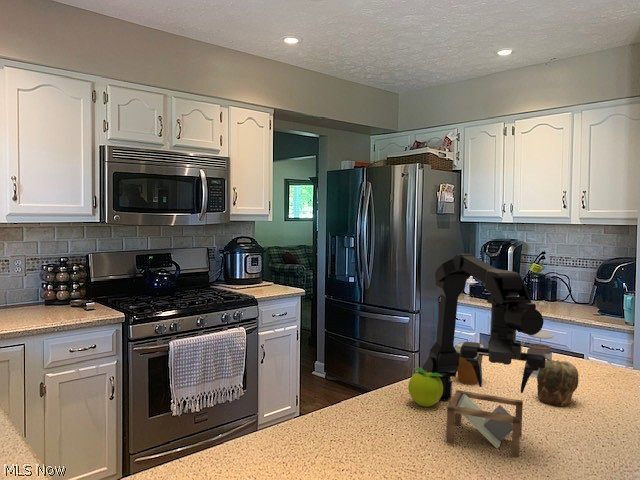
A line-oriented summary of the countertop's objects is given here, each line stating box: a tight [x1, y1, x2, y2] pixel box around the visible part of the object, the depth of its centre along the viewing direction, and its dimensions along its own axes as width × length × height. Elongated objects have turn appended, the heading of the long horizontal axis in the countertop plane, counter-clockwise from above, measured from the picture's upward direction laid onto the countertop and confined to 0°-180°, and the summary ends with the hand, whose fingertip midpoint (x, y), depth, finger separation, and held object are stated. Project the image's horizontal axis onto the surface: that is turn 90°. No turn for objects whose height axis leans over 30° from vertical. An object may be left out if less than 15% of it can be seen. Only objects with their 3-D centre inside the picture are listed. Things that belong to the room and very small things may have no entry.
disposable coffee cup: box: [454, 341, 485, 385], centre depth 163 cm, size 10×10×12 cm
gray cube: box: [483, 404, 513, 442], centre depth 120 cm, size 5×5×5 cm
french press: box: [520, 301, 554, 379], centre depth 172 cm, size 10×12×25 cm
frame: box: [445, 389, 524, 458], centre depth 121 cm, size 16×13×8 cm
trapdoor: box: [457, 394, 502, 449], centre depth 122 cm, size 12×9×1 cm
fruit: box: [408, 366, 443, 408], centre depth 142 cm, size 9×9×10 cm
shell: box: [536, 359, 580, 407], centre depth 147 cm, size 11×11×12 cm
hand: (500, 389), depth 120 cm, fingers open, 9 cm apart
